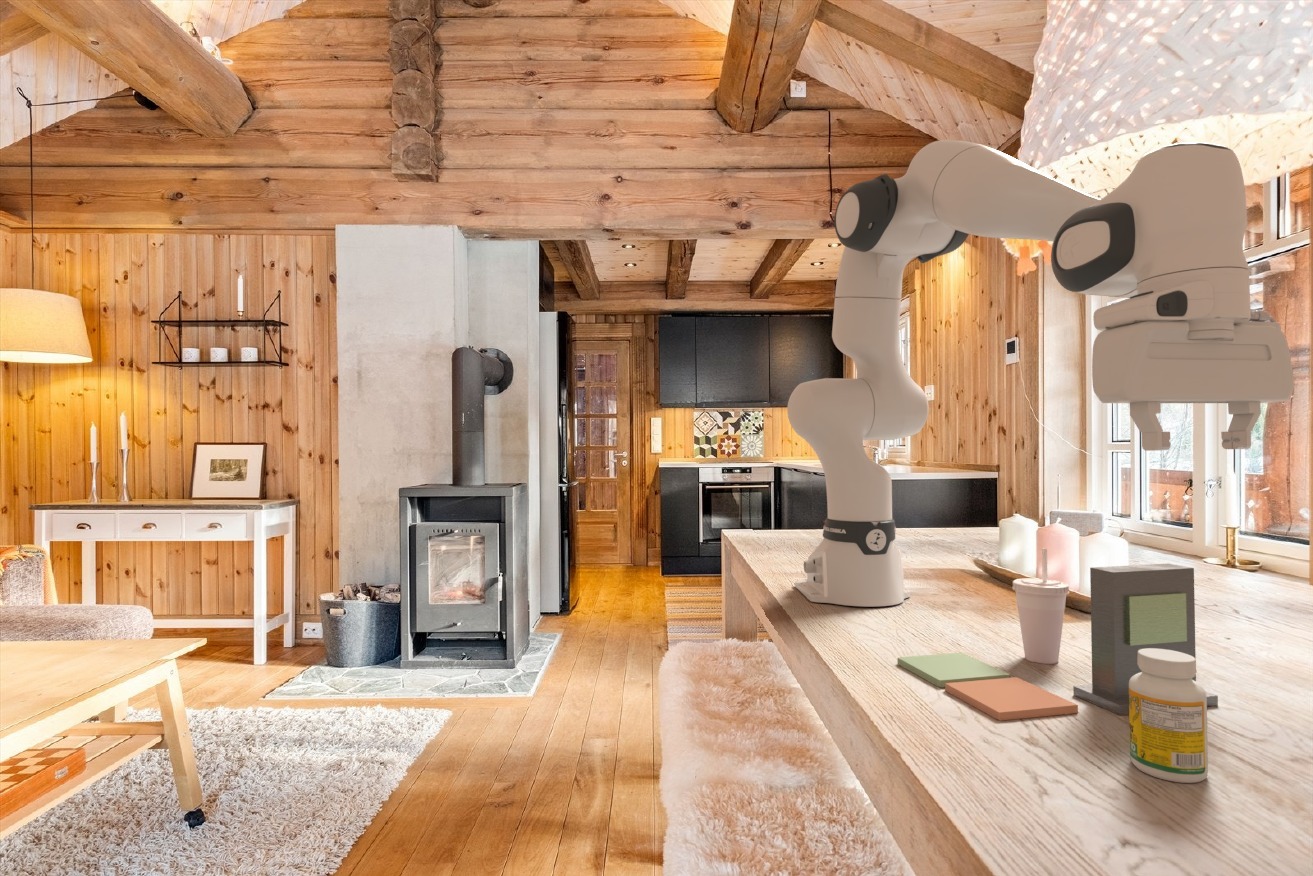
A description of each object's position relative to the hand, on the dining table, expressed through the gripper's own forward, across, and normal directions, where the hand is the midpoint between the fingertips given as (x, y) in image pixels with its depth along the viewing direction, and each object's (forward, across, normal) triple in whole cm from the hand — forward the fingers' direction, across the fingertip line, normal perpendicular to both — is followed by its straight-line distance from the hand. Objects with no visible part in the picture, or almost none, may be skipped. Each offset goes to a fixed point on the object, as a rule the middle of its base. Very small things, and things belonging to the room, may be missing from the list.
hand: (1196, 449), depth 70 cm
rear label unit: (+26, 0, -7) cm, 27 cm away
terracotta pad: (+26, +14, -10) cm, 31 cm away
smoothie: (+26, 0, -22) cm, 34 cm away
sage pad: (+26, +14, -20) cm, 36 cm away
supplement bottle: (+27, +12, +7) cm, 30 cm away
